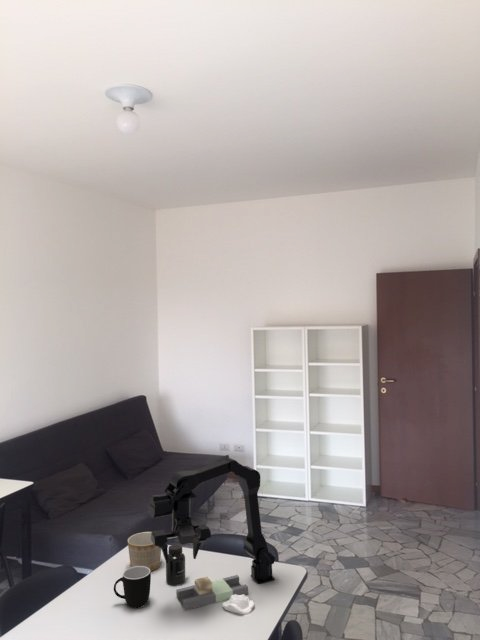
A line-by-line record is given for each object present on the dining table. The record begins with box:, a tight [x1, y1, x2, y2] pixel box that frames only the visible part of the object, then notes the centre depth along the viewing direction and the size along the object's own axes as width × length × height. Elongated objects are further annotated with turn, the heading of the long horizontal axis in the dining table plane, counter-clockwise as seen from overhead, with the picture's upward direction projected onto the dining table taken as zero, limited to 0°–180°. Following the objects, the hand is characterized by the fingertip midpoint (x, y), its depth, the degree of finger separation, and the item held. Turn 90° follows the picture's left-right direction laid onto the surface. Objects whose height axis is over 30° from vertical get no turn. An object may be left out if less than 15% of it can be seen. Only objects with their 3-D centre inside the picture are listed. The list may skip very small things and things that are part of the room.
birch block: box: [194, 576, 212, 595], centre depth 175 cm, size 4×4×3 cm
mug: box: [113, 566, 152, 609], centre depth 172 cm, size 12×9×10 cm
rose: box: [222, 594, 255, 616], centre depth 168 cm, size 10×4×10 cm
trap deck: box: [175, 574, 249, 611], centre depth 176 cm, size 22×9×2 cm, turn 114°
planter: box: [127, 531, 162, 572], centre depth 198 cm, size 13×13×10 cm
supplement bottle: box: [165, 543, 186, 586], centre depth 186 cm, size 7×7×12 cm
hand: (180, 561), depth 172 cm, fingers open, 9 cm apart
